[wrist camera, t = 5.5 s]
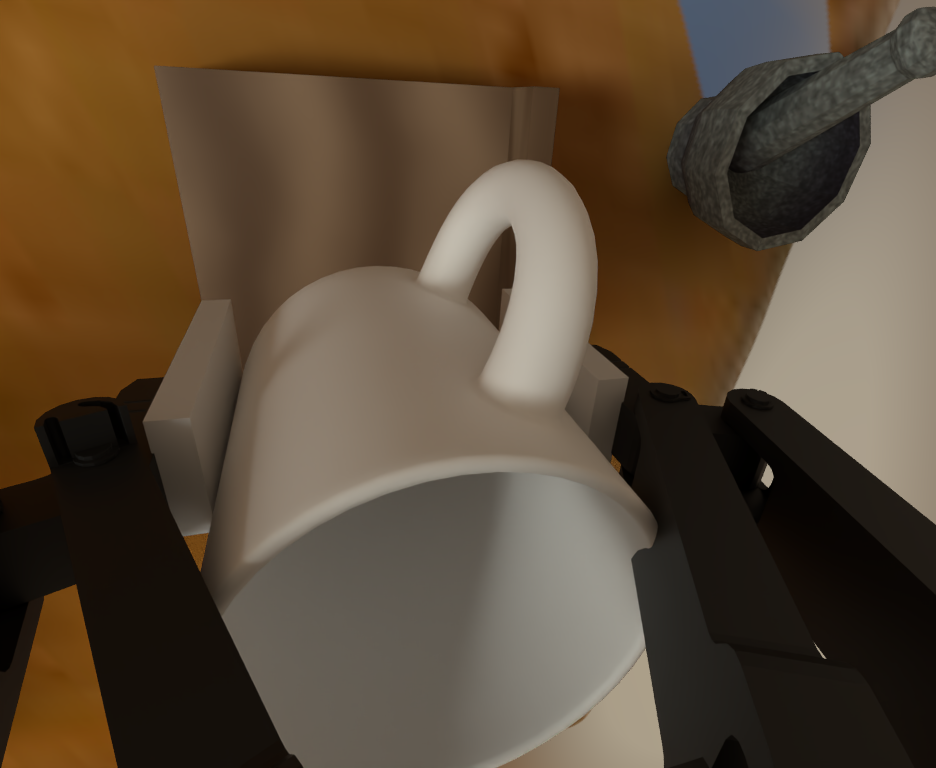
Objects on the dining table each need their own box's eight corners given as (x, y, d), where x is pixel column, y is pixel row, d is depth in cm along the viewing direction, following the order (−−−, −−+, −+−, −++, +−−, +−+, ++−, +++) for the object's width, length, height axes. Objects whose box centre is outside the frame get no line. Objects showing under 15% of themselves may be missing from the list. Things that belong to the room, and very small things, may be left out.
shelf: (232, 361, 31) (215, 427, 25) (178, 71, 24) (137, 61, 18) (485, 342, 36) (526, 395, 29) (501, 90, 29) (559, 87, 22)
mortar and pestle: (735, 234, 37) (899, 285, 27) (624, 217, 34) (762, 266, 24) (807, 52, 33) (1037, 31, 22) (685, 13, 30) (888, -33, 19)
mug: (332, 72, 13) (392, 23, 4) (587, 203, 17) (903, 319, 8) (214, 455, 17) (126, 823, 8) (440, 497, 21) (542, 788, 12)
